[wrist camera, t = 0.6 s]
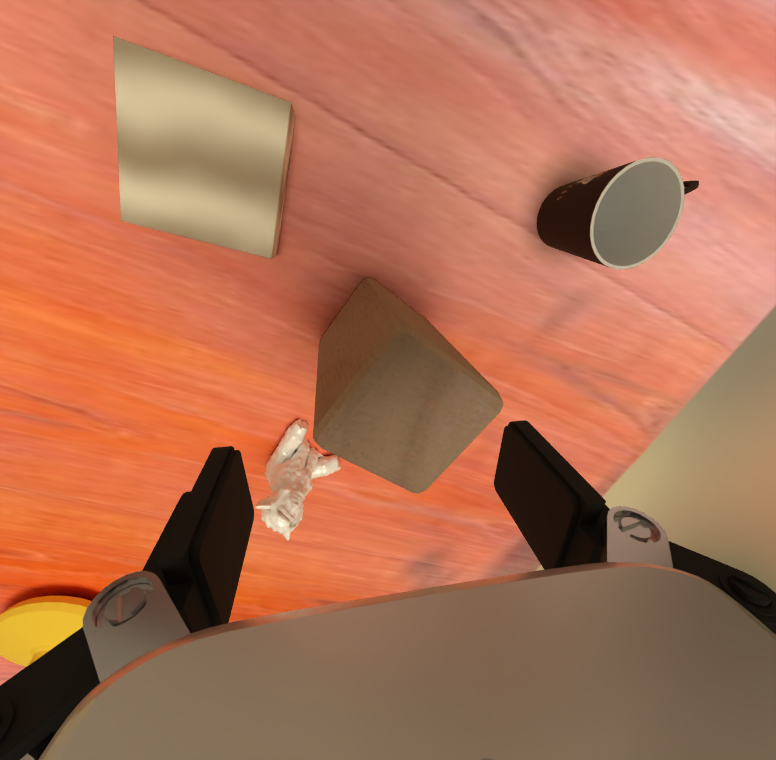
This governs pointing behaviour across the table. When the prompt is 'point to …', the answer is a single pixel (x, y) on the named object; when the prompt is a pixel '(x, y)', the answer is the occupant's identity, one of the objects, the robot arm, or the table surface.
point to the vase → (39, 626)
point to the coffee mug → (616, 213)
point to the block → (396, 391)
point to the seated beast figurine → (292, 478)
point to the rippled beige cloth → (200, 152)
